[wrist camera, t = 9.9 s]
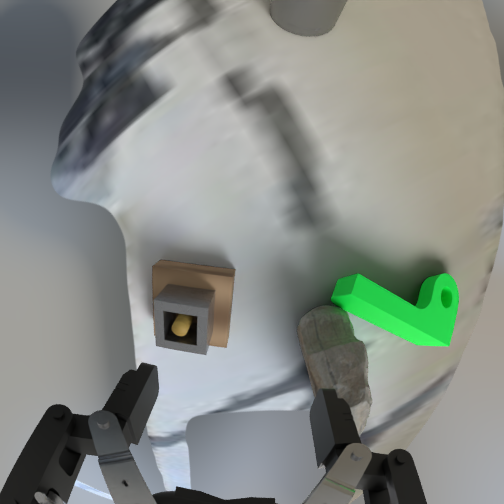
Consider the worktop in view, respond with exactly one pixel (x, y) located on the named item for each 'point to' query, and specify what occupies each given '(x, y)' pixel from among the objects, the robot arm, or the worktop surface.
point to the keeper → (198, 278)
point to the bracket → (403, 308)
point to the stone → (336, 359)
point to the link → (189, 304)
